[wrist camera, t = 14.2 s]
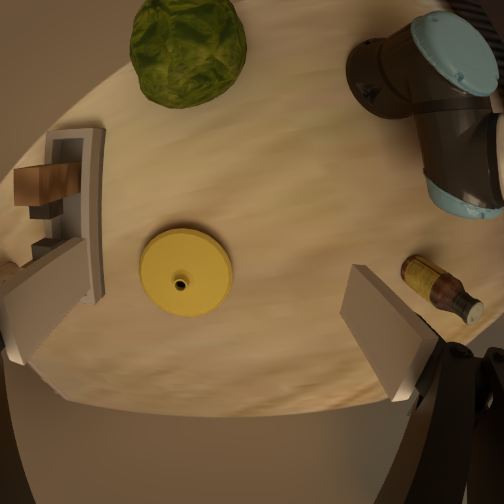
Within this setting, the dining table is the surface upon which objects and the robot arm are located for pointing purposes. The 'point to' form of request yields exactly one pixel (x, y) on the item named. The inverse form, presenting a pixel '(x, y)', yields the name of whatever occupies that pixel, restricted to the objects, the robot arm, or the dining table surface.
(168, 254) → the yellow curved piece
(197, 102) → the lettuce
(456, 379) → the robot arm
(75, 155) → the brown blocky pieces
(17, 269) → the mug
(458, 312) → the sauce bottle
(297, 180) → the dining table surface
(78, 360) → the dining table surface
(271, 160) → the dining table surface
